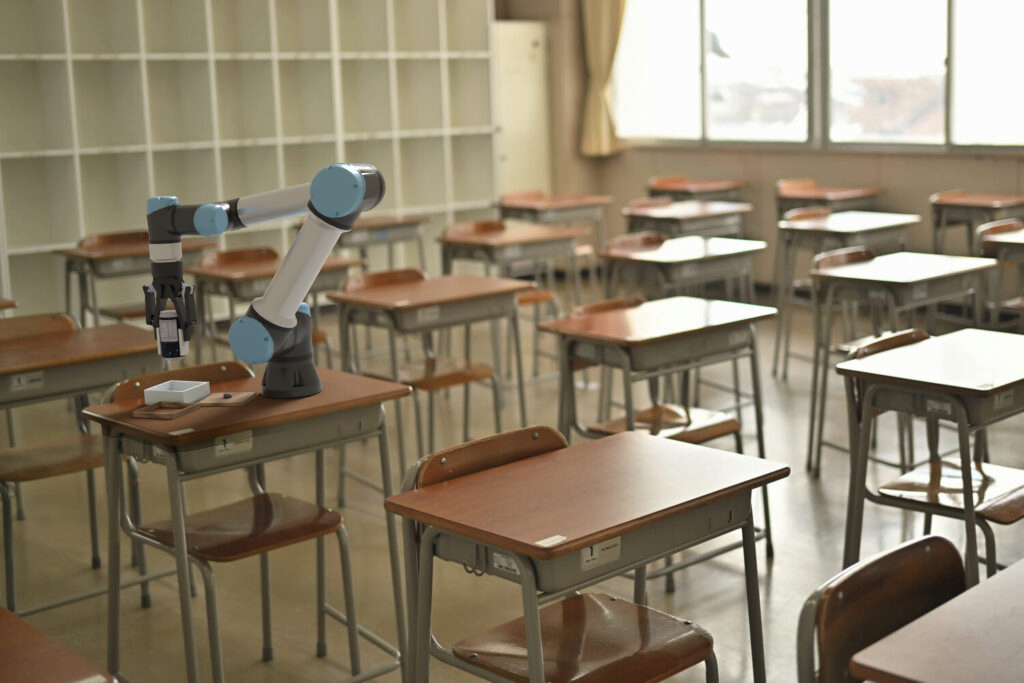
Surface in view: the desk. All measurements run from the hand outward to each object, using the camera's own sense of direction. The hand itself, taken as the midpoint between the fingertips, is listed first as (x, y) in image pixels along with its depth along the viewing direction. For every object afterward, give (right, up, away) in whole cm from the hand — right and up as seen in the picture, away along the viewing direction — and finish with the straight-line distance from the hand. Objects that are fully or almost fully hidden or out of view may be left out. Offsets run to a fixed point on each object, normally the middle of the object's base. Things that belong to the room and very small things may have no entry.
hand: (173, 353), depth 292 cm
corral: (+1, -14, -11) cm, 18 cm away
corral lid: (+13, -12, 0) cm, 18 cm away
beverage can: (0, -2, 0) cm, 2 cm away
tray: (0, -12, +2) cm, 12 cm away
